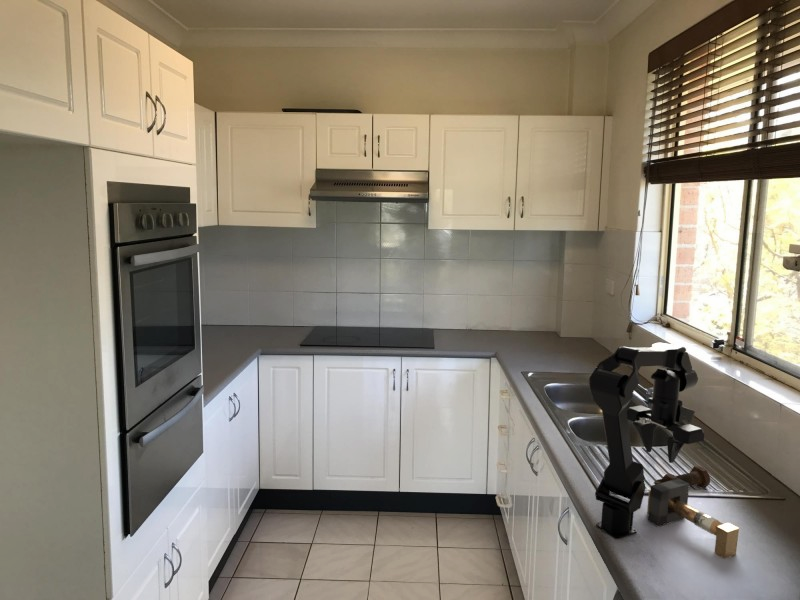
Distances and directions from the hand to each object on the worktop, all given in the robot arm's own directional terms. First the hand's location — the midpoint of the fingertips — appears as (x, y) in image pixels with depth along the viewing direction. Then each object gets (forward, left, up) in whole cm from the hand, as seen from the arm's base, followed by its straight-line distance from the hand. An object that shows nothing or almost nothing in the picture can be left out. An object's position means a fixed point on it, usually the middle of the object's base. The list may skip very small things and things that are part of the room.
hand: (659, 457), depth 147 cm
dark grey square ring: (-4, -6, -12) cm, 14 cm away
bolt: (+13, +4, -13) cm, 18 cm away
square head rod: (-4, -12, -12) cm, 18 cm away
